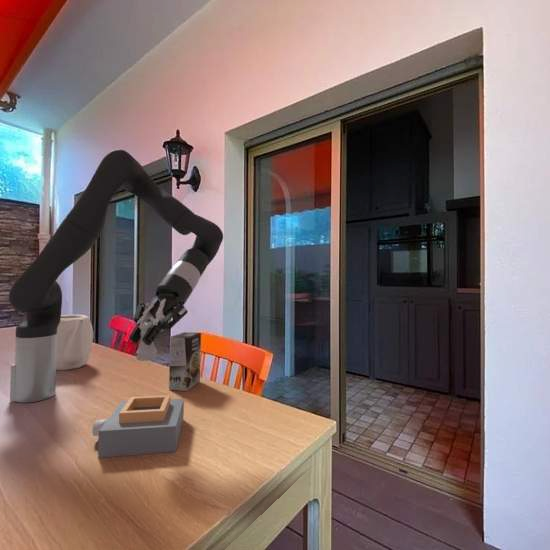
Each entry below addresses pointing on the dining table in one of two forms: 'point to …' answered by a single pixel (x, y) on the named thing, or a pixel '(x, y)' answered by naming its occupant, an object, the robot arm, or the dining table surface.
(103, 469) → the dining table surface
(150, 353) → the rook chess piece
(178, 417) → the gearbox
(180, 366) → the coffee box
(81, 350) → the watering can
